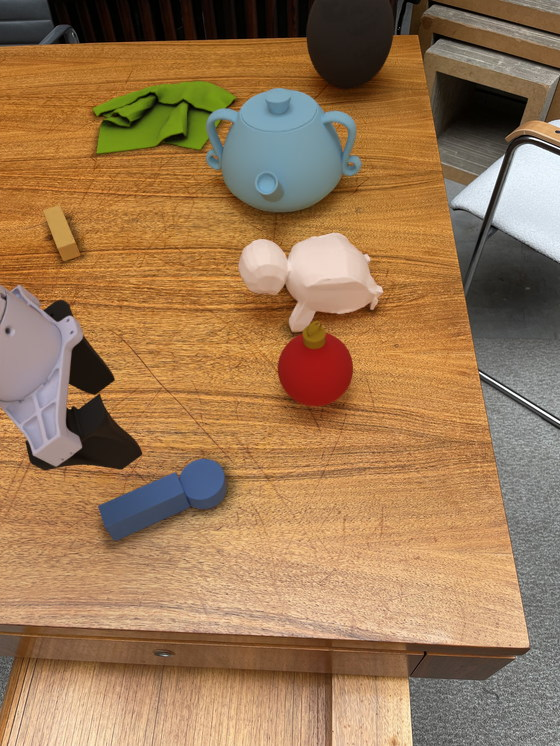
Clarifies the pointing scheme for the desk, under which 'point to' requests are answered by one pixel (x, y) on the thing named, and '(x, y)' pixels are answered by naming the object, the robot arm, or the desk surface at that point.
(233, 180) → the teapot
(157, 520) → the blue long-handled part
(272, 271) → the white animal figurine
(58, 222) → the block
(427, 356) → the desk surface
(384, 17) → the decorative egg
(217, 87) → the cloth
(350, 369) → the christmas ornament
